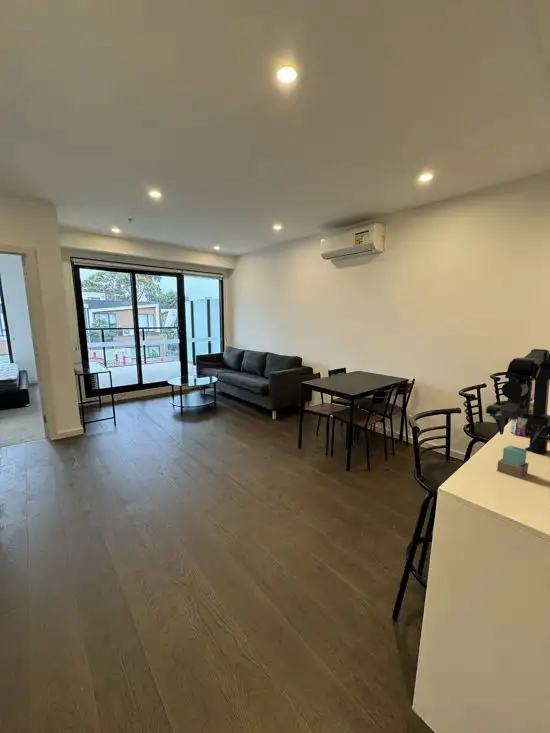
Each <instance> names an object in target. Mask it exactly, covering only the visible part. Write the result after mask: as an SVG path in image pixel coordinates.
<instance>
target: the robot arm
mask: <svg viewBox="0 0 550 733" xmlns="http://www.w3.org/2000/svg"><path fill="white" fill-rule="evenodd" d="M504 378H505V379H509V381H508V382H505V383H504V384H502V387H501V394H502V395H503V396H504V397H506V398H507V402H506V403H504V404H503V405H500V404H495V403H494V404H490V405H488V406H486V408H485V413H486V414H489V417H492V418H493V419H494V421H495V422H496V423H495V424H496V425H497V428H498V432H499V434H500V435H503V434H504V431H505V425H506V419H510V420H512V419H513V420H515V419H517V418H518V417H520V418H524V419H528V420H527V422H526V425H525V435H528V436H527V437H529V445H528V447H526V448H524V449H525V450H527V451H529V452H532V453H536V454H539V455H542V456H545V455H546V453H547V454H549V453H550V450H548V441H550V415H549V414H548V407H549V394H550V393H549V392H550V350H548V349H543V348H534V349H531V350H530V352H529V353H528V354H526V355H525V356H523V357H515V358H513V359H512V360H511V361H510V362H509V364H508V367H507V370H506V372H505V376H504ZM533 382H534V388H533ZM533 389H534V394H533V397H532V392H533ZM531 401H534V404H533V415H532V414H529V413H531V410H530V402H531ZM548 452H549V453H548Z"/></svg>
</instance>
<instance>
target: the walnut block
mask: <svg viewBox="0 0 550 733" xmlns="http://www.w3.org/2000/svg"><path fill="white" fill-rule="evenodd" d="M502 460H503V457H502V458H501V459H500V460H498V461H497V466H496V467H497V468H496V471H497V472H499V473H502V474H504V475H507V476H511V477H513V478H514V477H515V478H518V479H520V480H521V479H522V478H523V477H524V476H527V474H528V471H529V462H525V464H524V465H521V466H519V467H518V466H515V465H512V464H509V463H506V462H503V461H502Z"/></svg>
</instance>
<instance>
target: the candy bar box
mask: <svg viewBox="0 0 550 733" xmlns="http://www.w3.org/2000/svg"><path fill="white" fill-rule="evenodd" d="M533 404H534V400H532V401H531V402H530V410H531V413H529V414H532V415H533ZM527 420H528V419H524V418H520V417H518V418H517V419H515V420H513V419H511V424H510V425H511V426H510V433H511V434H513V435H514V434H515V436H521V435H525V425H526V422H527Z"/></svg>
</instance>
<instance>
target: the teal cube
mask: <svg viewBox="0 0 550 733" xmlns="http://www.w3.org/2000/svg"><path fill="white" fill-rule="evenodd" d="M527 451H528V450H525V448H521V447H517V446H513V445H509V446H508V445H507V446H506V447H503V451H502V452H503V453H502V458H503V460H502V461H503V462H506V463H509V464H512V465H515V466H518V467H519V466H521V465H524V464H525V462H526V460H527V454H528V453H527ZM526 463H527V462H526Z"/></svg>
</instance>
